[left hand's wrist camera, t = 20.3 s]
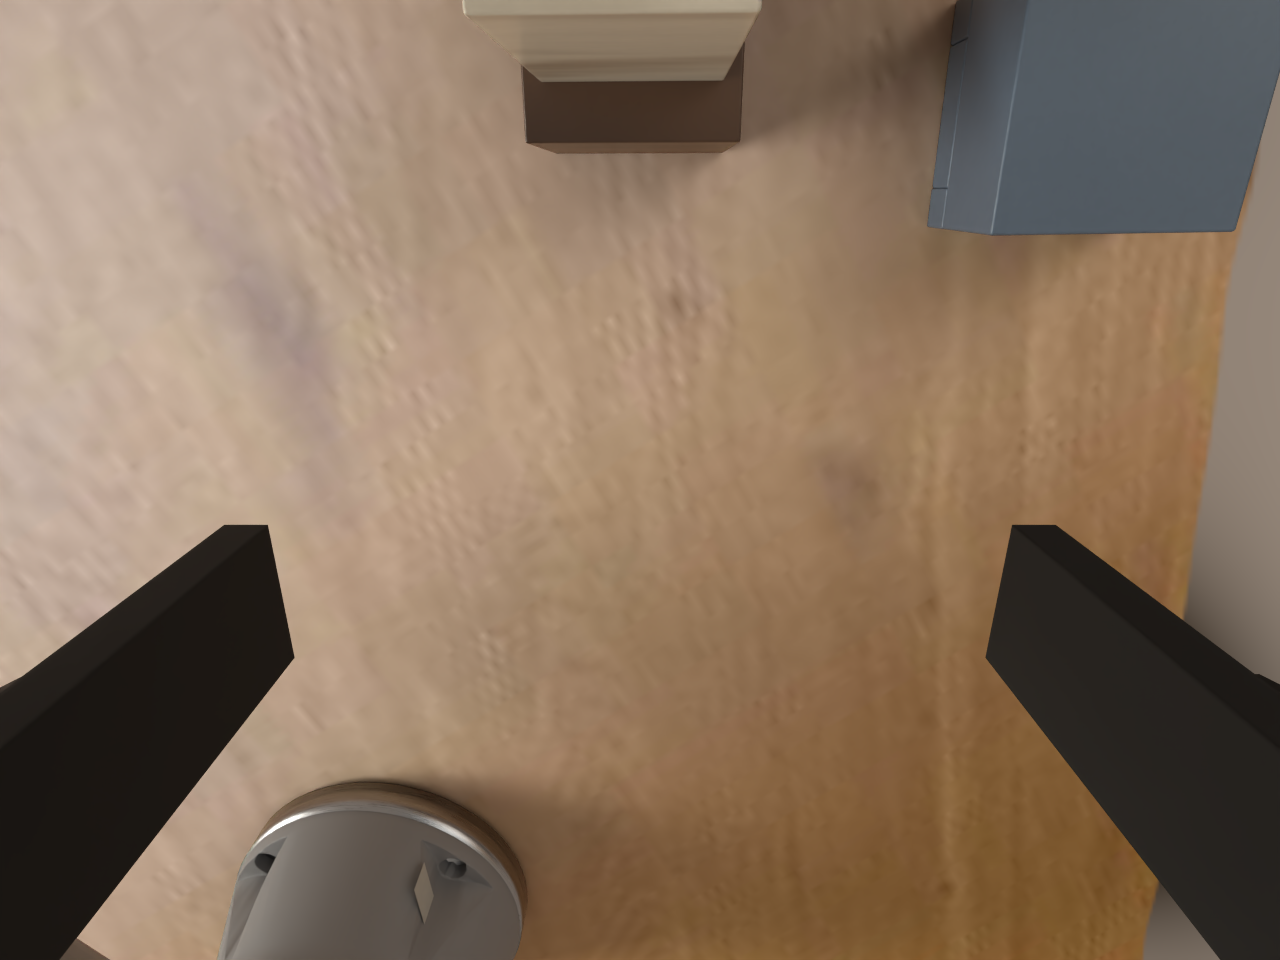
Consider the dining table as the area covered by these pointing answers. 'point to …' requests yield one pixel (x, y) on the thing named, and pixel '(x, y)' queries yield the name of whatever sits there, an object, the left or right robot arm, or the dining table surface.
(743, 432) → the dining table surface
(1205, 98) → the slate blue cube
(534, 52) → the stand
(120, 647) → the left robot arm
